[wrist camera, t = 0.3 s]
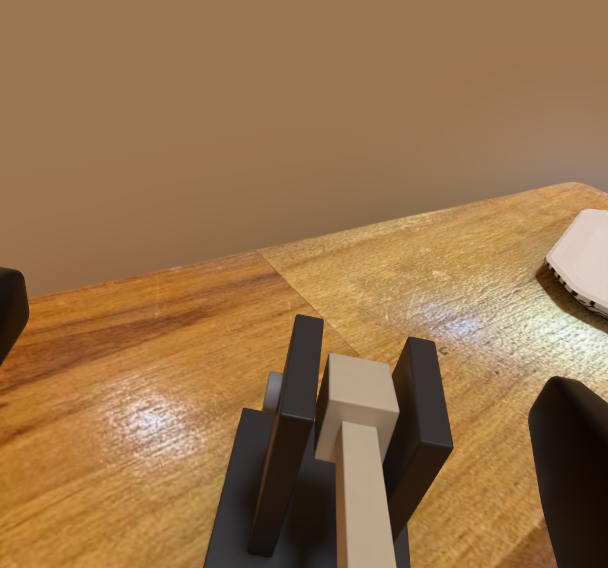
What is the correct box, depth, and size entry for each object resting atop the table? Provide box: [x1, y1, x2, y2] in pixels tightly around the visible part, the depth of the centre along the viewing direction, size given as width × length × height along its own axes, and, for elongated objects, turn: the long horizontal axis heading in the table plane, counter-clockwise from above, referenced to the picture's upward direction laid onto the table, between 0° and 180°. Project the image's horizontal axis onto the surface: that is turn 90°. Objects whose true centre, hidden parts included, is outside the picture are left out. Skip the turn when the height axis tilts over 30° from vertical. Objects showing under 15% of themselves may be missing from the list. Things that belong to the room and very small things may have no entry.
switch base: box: [203, 314, 454, 568], centre depth 18 cm, size 9×8×10 cm
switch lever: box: [314, 353, 400, 568], centre depth 12 cm, size 12×3×3 cm, turn 174°
